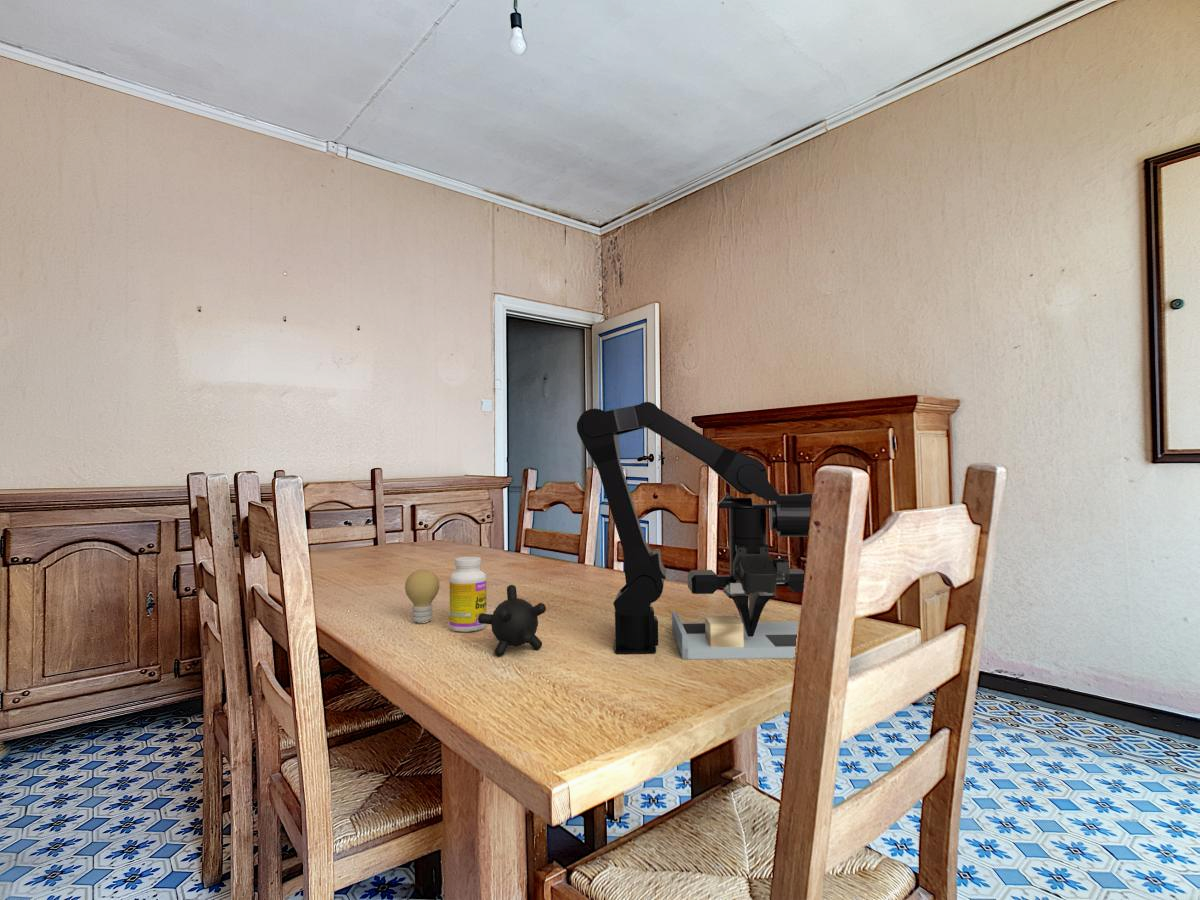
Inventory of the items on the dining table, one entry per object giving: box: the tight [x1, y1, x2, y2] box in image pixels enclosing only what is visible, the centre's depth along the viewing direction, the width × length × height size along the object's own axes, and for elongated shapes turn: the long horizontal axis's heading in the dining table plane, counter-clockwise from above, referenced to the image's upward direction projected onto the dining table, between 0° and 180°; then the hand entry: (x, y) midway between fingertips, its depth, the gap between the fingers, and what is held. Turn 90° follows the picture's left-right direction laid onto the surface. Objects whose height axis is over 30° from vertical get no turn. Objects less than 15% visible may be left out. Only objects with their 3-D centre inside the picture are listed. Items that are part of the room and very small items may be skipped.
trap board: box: [671, 610, 798, 660], centre depth 99 cm, size 23×15×4 cm, turn 89°
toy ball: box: [478, 584, 547, 657], centre depth 98 cm, size 11×11×12 cm
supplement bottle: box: [449, 556, 488, 632], centre depth 112 cm, size 7×7×13 cm
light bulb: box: [404, 569, 440, 623], centre depth 117 cm, size 6×6×10 cm
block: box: [704, 615, 744, 647], centre depth 95 cm, size 5×5×4 cm
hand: (750, 636), depth 96 cm, fingers closed
